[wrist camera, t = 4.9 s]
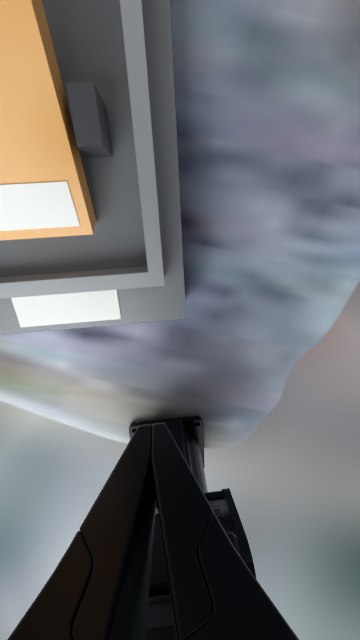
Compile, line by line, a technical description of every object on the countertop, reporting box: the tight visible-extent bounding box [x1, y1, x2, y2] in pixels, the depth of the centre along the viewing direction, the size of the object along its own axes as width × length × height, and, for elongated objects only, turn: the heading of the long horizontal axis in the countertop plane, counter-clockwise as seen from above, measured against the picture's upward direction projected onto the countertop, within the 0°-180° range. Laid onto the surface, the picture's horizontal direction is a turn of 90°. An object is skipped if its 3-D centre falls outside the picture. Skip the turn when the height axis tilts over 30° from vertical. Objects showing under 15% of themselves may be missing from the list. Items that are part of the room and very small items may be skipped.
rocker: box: [0, 0, 97, 241], centre depth 11 cm, size 9×5×2 cm, turn 4°
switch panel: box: [0, 0, 186, 335], centre depth 13 cm, size 20×14×6 cm
